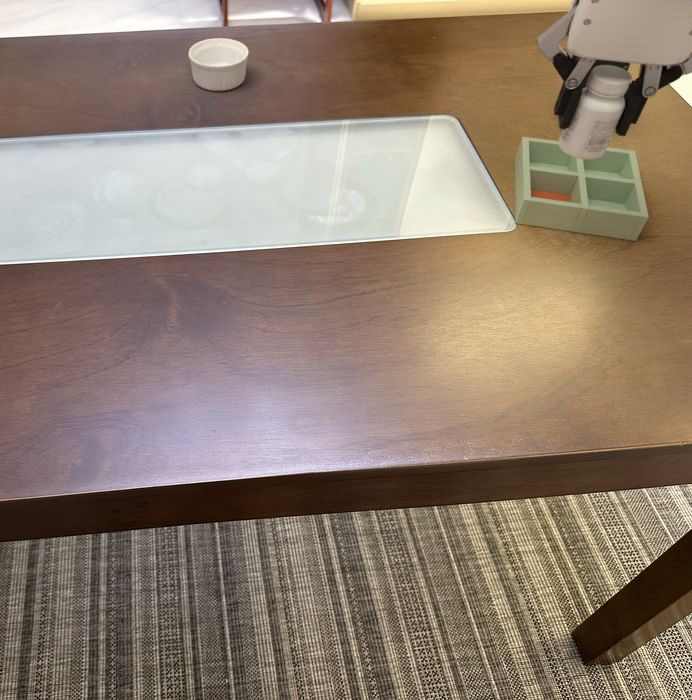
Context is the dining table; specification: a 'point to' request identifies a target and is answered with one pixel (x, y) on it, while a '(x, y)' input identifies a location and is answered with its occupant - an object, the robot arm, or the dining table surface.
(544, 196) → the grid
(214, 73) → the ramekin
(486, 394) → the dining table surface
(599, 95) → the pill bottle
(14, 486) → the dining table surface
